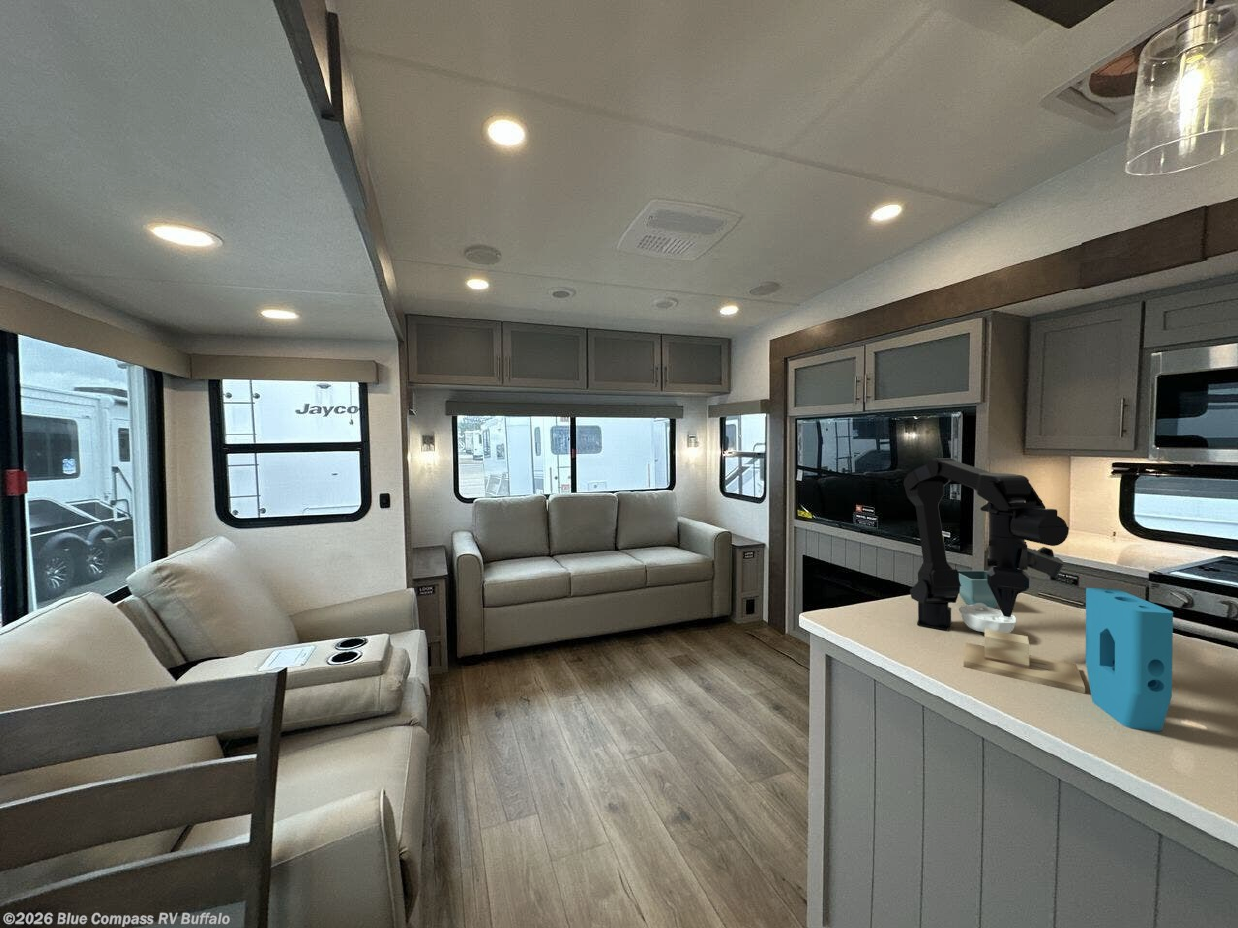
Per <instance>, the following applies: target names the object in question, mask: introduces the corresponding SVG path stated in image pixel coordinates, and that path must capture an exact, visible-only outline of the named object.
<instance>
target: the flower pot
mask: <svg viewBox="0 0 1238 928" xmlns="http://www.w3.org/2000/svg"><path fill="white" fill-rule="evenodd" d="M957 571H958V572H959V581H960V584H961V586H960V593H959V594H958V595H959V596H960V598H961V599H962V600H963V602H964V603H965V604H966V605H973V604H975V603H983V604H985V605H986V607H990V608H994V609H996V607H998V606H999V605H998V603H997V601H996V599H995V597H994V595H993V593H992V591H991V589H990V587H989V586H988V583H987V570H957Z"/></svg>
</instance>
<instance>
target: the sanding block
mask: <svg viewBox="0 0 1238 928" xmlns="http://www.w3.org/2000/svg"><path fill="white" fill-rule="evenodd" d="M984 646H985V660H990V661H995V662H999V663H1004V664H1009V665H1014V666H1019V667H1024V668H1028V669H1029V655H1030V641H1029V637H1028V635H1027V636H1026V635H1022V634H1016V633H1012V632H1010V633H1005V632H999V631H993V630H988V629H985V632H984Z"/></svg>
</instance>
